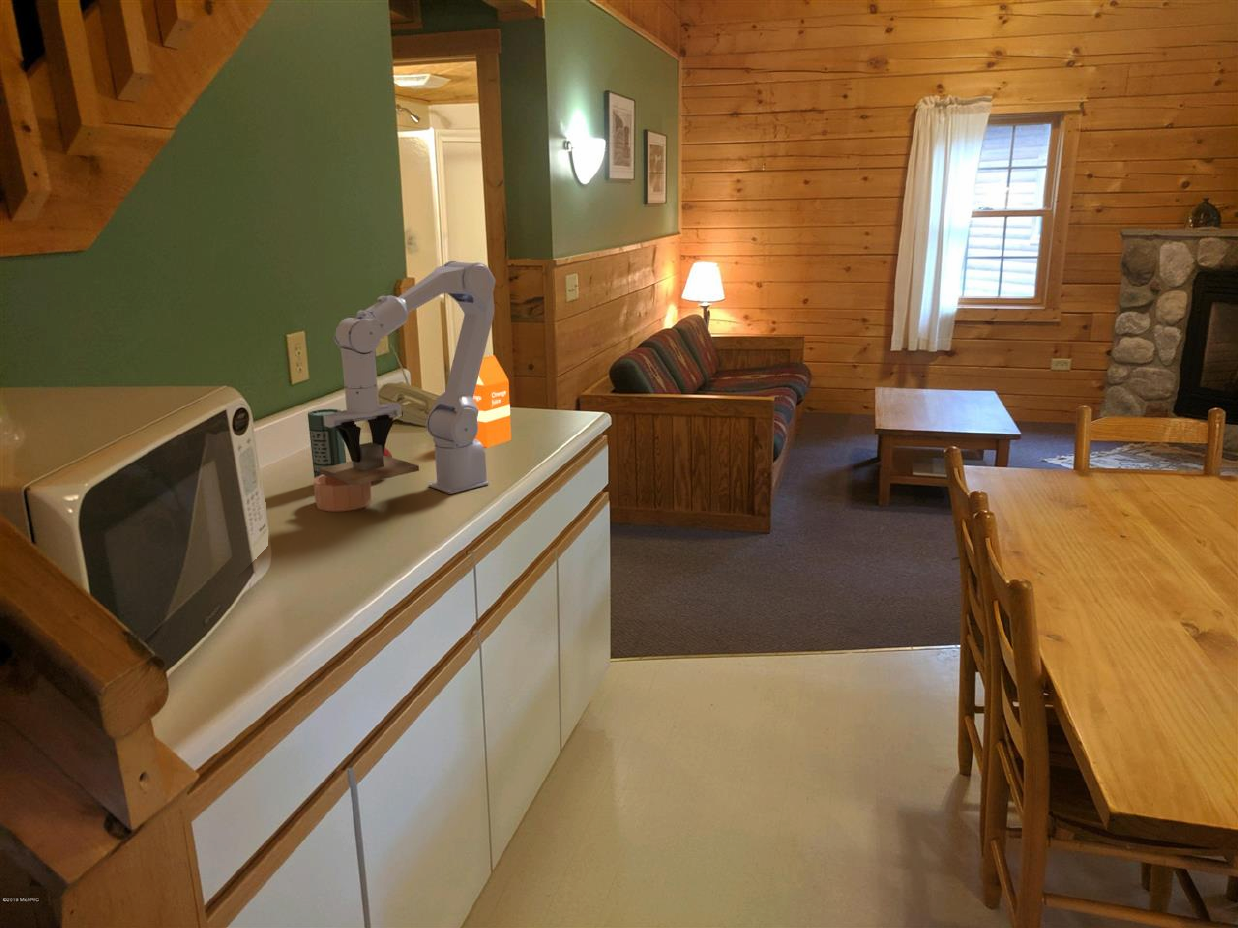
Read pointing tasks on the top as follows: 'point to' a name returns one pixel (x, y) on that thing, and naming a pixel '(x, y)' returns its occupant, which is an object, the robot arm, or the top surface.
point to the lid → (369, 467)
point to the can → (325, 441)
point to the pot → (340, 494)
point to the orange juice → (492, 404)
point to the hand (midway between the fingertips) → (367, 459)
